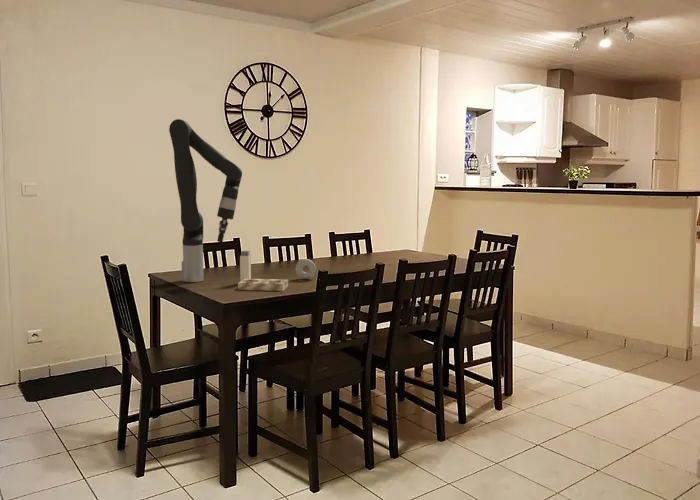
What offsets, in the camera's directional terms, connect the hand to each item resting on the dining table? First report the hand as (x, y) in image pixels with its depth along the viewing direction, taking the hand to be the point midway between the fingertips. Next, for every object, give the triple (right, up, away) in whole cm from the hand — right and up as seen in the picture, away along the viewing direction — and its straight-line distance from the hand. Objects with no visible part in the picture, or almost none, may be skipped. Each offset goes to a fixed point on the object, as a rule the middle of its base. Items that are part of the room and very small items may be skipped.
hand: (219, 242), depth 295 cm
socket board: (+22, -21, -13) cm, 33 cm away
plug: (+12, -19, -1) cm, 23 cm away
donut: (+39, -18, +12) cm, 45 cm away
